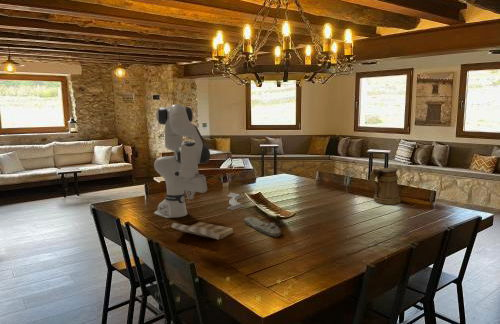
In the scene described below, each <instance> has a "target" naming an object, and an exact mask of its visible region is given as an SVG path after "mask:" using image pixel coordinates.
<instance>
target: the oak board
mask: <svg viewBox="0 0 500 324" xmlns="http://www.w3.org/2000/svg"><path fill="white" fill-rule="evenodd" d="M190 226H191V227H196V228H201V229H206V230H209V231H211V232H214V233H216V234H218V235H220V237H219V240H222V239H224V238H226V237H228V236H230V235H231V234H233V233H234V228H232V227H227V226H222V225H219V224H212V223H207V222H202V221H198V222H196V223H194V224H191V225H190Z"/></svg>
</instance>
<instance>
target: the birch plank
mask: <svg viewBox="0 0 500 324" xmlns="http://www.w3.org/2000/svg"><path fill="white" fill-rule="evenodd" d="M171 228H172V229H174V230H175V229H176V230H178V231H180V232H183V233H186V234H192V235H197V236H201V237H204V238H210V239H213V240H218V241H219V240H220V239H219V237H220V235H218V234H216V233H214V232H211V231H209V230H206V229H201V228H196V227H191V225H186V224H181V223H178V222H172V224H171Z"/></svg>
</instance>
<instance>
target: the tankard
mask: <svg viewBox="0 0 500 324" xmlns="http://www.w3.org/2000/svg"><path fill="white" fill-rule="evenodd" d="M397 172H398V167H382V168H378V169H377V168H372V170H371V172H370V175H369V182H370V185H371V187H372V188H373V190H374V193H375V194H374V196H373V201H374V202H375V203H376V204H380V205H386V206H389V205H392V206H393V205H398V204H400V203H401V202H402V201H401V196H400V195H399V194H400V193H399V185H398V184H399V183H398V180H399V177H398V176H399V175H398V174H397ZM375 179H376V180H377V182H375V181H376V180H375Z"/></svg>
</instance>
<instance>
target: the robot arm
mask: <svg viewBox="0 0 500 324" xmlns="http://www.w3.org/2000/svg"><path fill="white" fill-rule="evenodd" d="M155 117H156V121H157V123H158V124H159V125H164V146H165V148H166V149H167V150H169V151H171V152H173V153H174V155H169V156H166V155H165V156H161V157H157V158H156V159H155V160H154V162H153V163H154V164H153V167H154V170H155V171H156V172H157V173H158V174H159V175H160V176H161V177H162V178H163V179H164V182H165V186H166V194H164V199H163V200H162V201H161V202H160V203H159V204H158V205H157V210H155V211H154V213H153V214H154V215H156V216H159V217H163V218H165V219H170V218H172V219H173V218H181V217H185V216H187V215H188V211H187V206H186V201H185V200H186V196H187V199H189V200H193V199H194V198H195V197H194V196H195V195H196V193H201V194H203V193H206V192H207V191H208V183H207V177H206V176H205V175H204V174H200V173H199V165H205V164H207V163H208V162H209V161H210V159H211V151H210V149H209V147H208V146H207V144H206V142H205V141H204V139H203V137H202V134H201V133H200V130H199V129H198V127H197V126H196V125H195V124H193V123H192V121H193V118H194V113H193V109H192V108H191V107H189V106H183V105H181V104H179V103H176V104H173V105H171V106H167V107H163V106H162V107H158V109H157V111H156V115H155ZM183 137H187V138H189V139H192V140H193V141H191V140H187V141H186V140H185V141H183Z"/></svg>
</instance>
